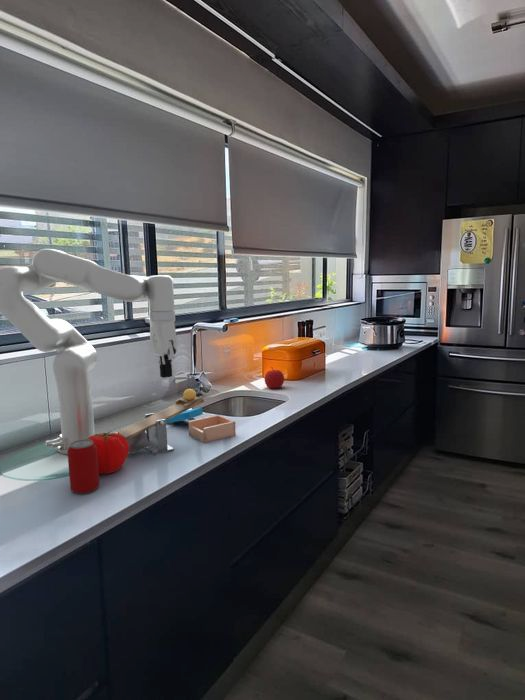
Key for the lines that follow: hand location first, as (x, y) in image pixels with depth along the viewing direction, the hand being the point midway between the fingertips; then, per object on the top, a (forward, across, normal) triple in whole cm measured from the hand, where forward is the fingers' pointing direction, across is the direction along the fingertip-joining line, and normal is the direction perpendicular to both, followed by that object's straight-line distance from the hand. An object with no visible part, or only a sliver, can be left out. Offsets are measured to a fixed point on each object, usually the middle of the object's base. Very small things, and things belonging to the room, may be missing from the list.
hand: (166, 376), depth 144 cm
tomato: (+22, +7, -22) cm, 32 cm away
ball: (+7, 0, +8) cm, 10 cm away
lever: (+17, 0, -1) cm, 17 cm away
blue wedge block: (+22, -16, +14) cm, 31 cm away
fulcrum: (+22, 0, -4) cm, 22 cm away
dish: (+22, 0, +15) cm, 27 cm away
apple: (+22, -41, +72) cm, 85 cm away
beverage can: (+22, +16, -30) cm, 41 cm away
